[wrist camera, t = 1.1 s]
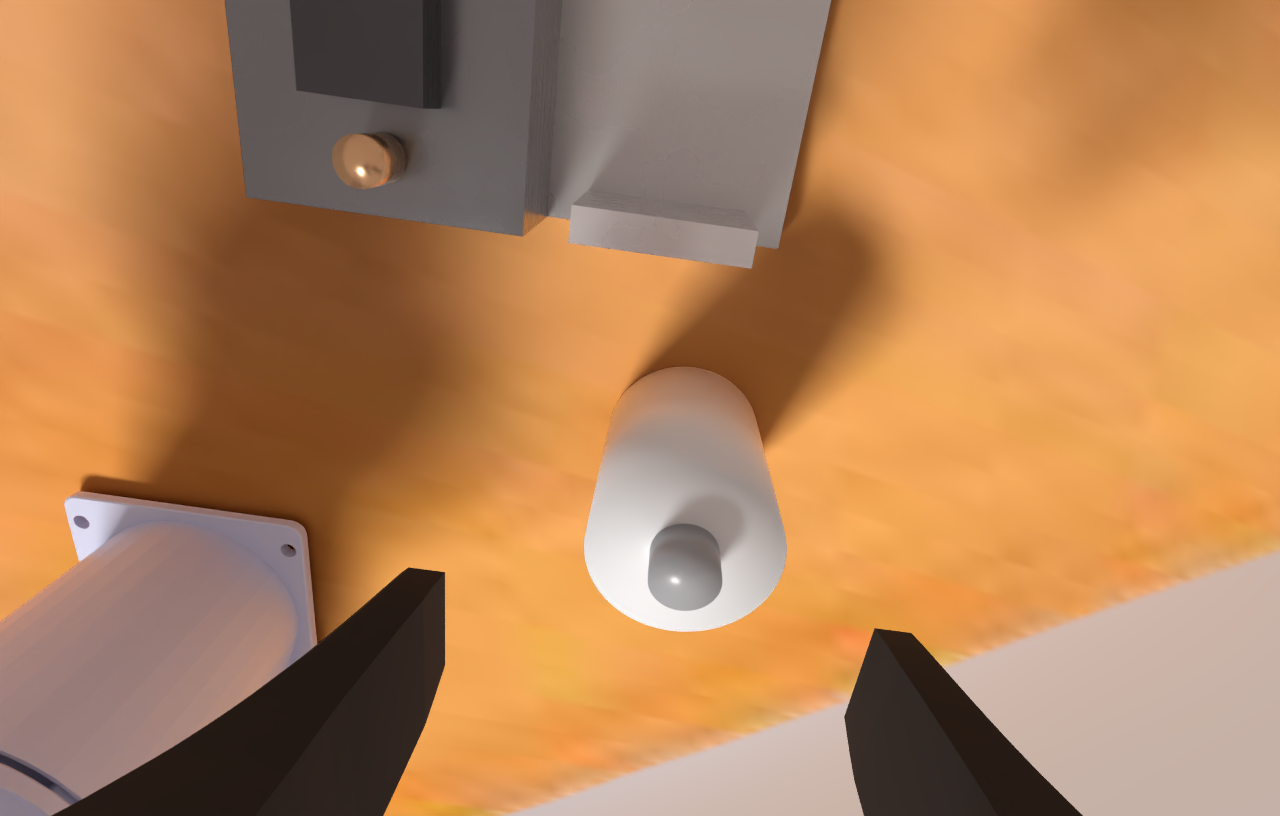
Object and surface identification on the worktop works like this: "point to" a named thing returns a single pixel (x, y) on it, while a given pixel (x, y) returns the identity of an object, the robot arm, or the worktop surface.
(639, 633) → the worktop surface
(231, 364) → the worktop surface
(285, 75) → the grey tray
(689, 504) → the white cylinder
